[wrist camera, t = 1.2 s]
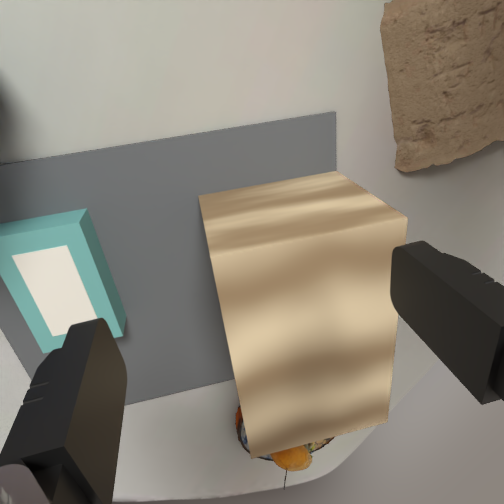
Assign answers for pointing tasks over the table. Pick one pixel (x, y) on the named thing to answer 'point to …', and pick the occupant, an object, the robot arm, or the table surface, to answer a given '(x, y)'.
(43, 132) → the table surface
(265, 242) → the oak block
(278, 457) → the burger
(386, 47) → the clay tablet
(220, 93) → the table surface
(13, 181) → the mat
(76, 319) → the card box
